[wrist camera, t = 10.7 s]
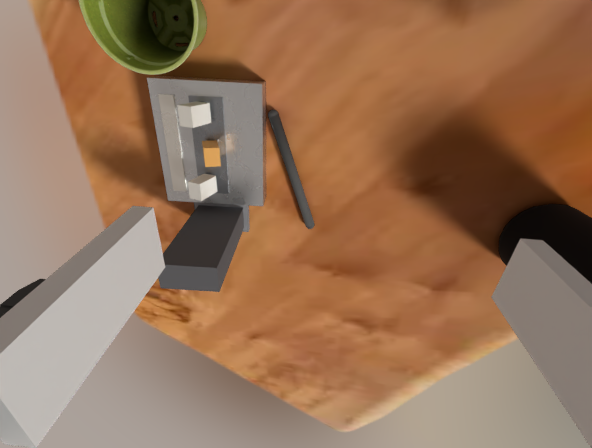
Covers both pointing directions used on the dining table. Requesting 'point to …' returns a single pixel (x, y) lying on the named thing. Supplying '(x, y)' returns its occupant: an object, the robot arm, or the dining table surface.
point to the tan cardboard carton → (211, 153)
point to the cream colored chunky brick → (194, 114)
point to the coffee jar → (553, 234)
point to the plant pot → (146, 31)
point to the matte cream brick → (202, 187)
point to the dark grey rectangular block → (204, 247)
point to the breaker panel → (213, 137)
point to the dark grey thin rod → (290, 167)
